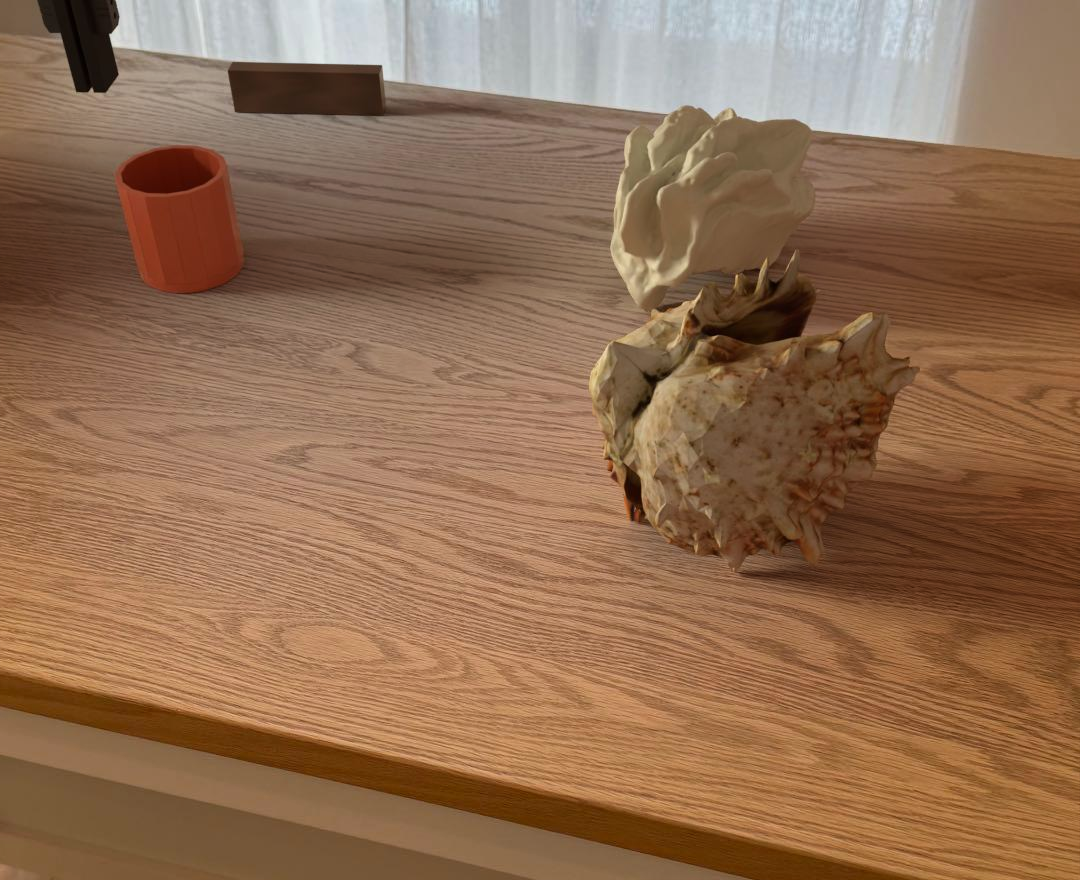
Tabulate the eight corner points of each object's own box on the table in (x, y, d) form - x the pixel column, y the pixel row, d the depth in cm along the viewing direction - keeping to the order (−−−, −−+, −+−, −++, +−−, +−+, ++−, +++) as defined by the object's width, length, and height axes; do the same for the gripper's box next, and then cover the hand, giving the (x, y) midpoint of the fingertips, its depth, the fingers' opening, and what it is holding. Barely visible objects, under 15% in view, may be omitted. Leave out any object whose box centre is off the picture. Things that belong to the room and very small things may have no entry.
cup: (126, 291, 94) (100, 195, 88) (155, 237, 100) (133, 143, 94) (230, 295, 94) (211, 198, 88) (254, 240, 99) (237, 146, 94)
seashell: (974, 271, 61) (813, 181, 73) (645, 365, 57) (530, 253, 69) (944, 558, 72) (807, 439, 83) (664, 655, 67) (561, 516, 79)
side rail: (234, 112, 116) (227, 70, 114) (239, 103, 118) (232, 61, 115) (383, 115, 116) (379, 73, 113) (386, 106, 117) (382, 64, 114)
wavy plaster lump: (692, 303, 105) (725, 111, 100) (817, 331, 96) (860, 121, 91) (533, 293, 93) (564, 73, 88) (660, 323, 84) (700, 81, 79)
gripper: (-190, -374, 59) (-31, 107, 75) (89, -372, 58) (188, 112, 74) (-120, -397, 64) (14, 56, 80) (135, -395, 64) (218, 61, 80)
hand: (97, 82), depth 77 cm, fingers closed
